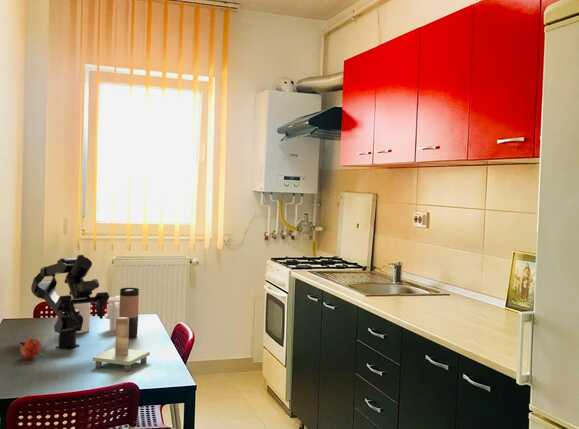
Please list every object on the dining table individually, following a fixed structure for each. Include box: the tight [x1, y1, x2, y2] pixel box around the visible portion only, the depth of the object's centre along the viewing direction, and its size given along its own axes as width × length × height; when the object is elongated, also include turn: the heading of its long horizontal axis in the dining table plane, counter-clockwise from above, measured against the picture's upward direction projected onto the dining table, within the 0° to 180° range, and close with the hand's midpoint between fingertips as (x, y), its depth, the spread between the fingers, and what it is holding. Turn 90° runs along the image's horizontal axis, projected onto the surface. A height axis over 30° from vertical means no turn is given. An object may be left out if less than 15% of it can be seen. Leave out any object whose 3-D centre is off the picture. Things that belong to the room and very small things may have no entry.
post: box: [114, 317, 130, 356], centre depth 210 cm, size 4×4×12 cm
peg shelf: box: [92, 347, 151, 373], centre depth 210 cm, size 14×14×4 cm
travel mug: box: [119, 287, 140, 340], centre depth 251 cm, size 8×8×20 cm
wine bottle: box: [69, 277, 91, 335], centre depth 257 cm, size 10×10×30 cm
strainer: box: [104, 295, 120, 332], centre depth 262 cm, size 7×7×15 cm
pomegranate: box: [19, 338, 44, 361], centre depth 214 cm, size 7×7×10 cm
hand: (90, 319), depth 218 cm, fingers open, 9 cm apart
